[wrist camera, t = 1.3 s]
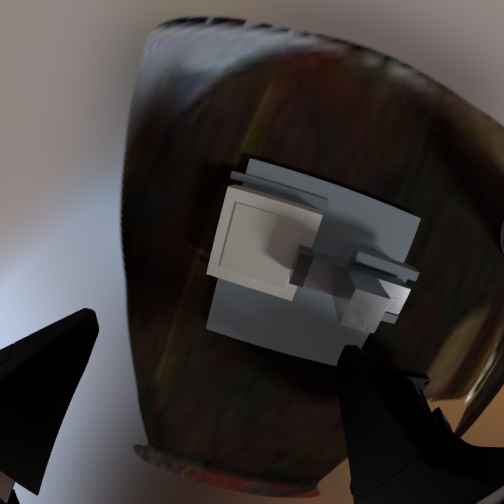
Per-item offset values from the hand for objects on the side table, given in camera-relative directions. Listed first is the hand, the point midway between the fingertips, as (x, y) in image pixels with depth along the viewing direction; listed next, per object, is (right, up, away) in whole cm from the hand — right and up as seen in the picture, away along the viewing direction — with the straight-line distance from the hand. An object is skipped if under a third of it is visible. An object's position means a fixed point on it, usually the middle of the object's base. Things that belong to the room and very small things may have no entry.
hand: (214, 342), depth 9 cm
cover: (+2, +4, +11) cm, 12 cm away
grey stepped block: (+7, +1, +8) cm, 11 cm away
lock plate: (+6, +1, +12) cm, 13 cm away
